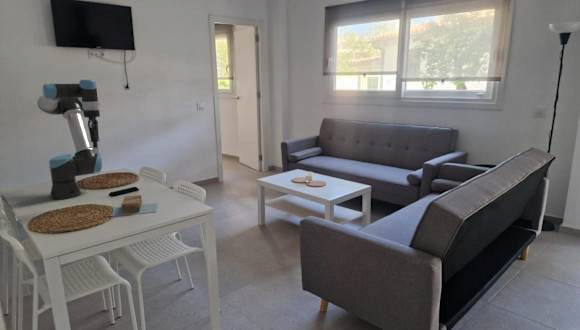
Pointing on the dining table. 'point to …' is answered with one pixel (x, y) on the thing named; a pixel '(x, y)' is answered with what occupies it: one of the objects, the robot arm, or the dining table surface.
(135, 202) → the walnut block
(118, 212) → the mat
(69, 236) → the dining table surface
